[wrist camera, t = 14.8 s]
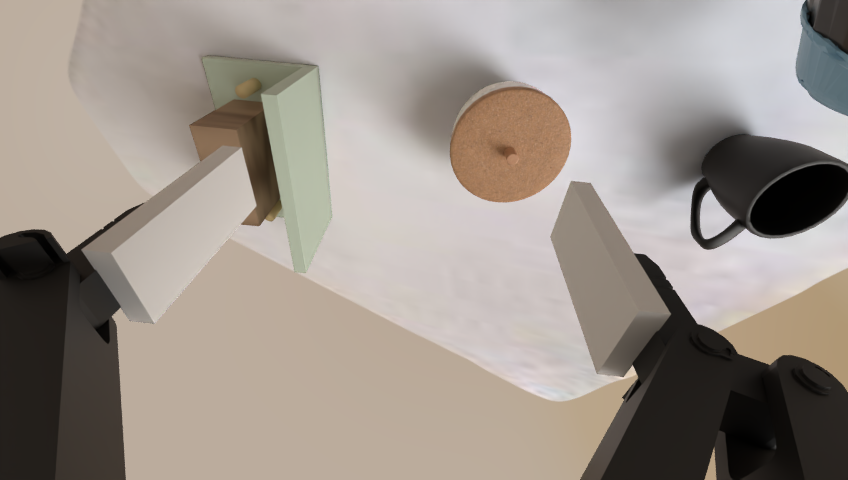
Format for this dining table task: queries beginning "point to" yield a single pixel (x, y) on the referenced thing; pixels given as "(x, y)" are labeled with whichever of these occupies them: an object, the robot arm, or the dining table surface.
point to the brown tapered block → (247, 130)
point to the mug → (769, 187)
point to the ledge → (285, 140)
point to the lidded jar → (509, 142)
